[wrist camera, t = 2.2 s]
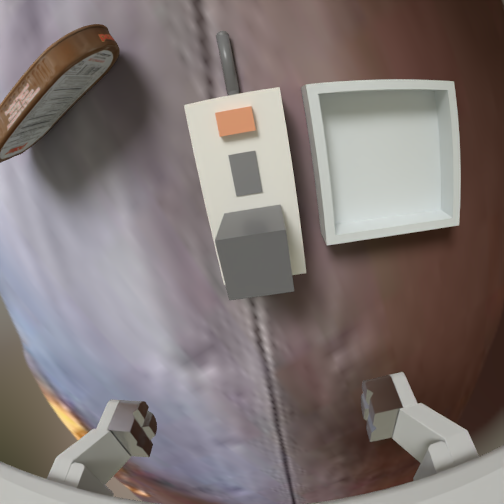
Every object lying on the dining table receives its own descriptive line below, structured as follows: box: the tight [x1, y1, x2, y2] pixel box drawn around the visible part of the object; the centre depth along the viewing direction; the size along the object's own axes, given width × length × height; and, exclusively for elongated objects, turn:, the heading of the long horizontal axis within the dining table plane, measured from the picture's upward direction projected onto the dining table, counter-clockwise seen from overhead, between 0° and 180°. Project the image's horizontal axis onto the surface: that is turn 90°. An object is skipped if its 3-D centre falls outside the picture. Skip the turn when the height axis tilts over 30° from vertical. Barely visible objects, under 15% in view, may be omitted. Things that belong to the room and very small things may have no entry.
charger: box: [215, 204, 294, 300], centre depth 24 cm, size 4×4×7 cm
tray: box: [301, 80, 461, 245], centre depth 25 cm, size 13×13×3 cm
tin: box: [0, 24, 119, 163], centre depth 20 cm, size 15×3×8 cm, turn 123°
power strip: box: [184, 31, 306, 285], centre depth 25 cm, size 21×7×4 cm, turn 10°
